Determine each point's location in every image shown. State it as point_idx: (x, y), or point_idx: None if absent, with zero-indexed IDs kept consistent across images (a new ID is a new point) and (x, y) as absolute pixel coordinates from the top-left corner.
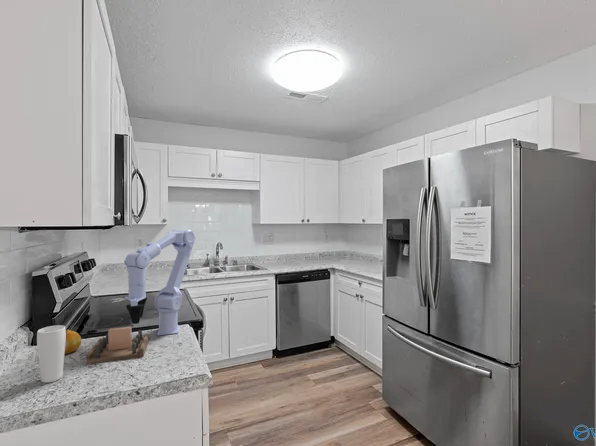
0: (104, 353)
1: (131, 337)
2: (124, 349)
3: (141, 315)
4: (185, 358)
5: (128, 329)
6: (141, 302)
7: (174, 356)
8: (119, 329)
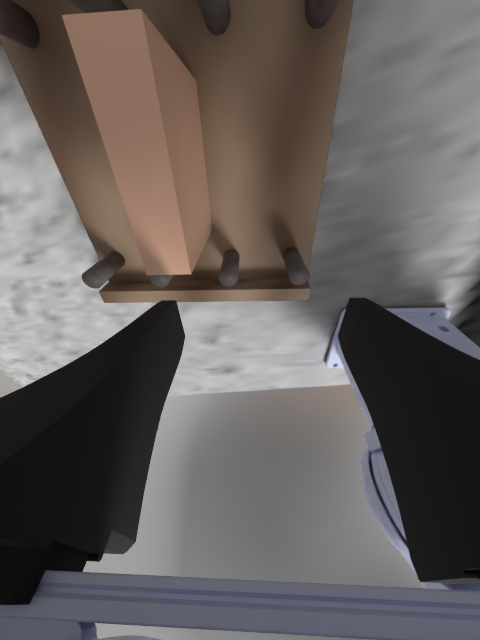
0: None
1: (203, 243)
2: None
3: (343, 346)
4: None
5: (146, 258)
6: (420, 493)
7: None
8: (118, 182)
